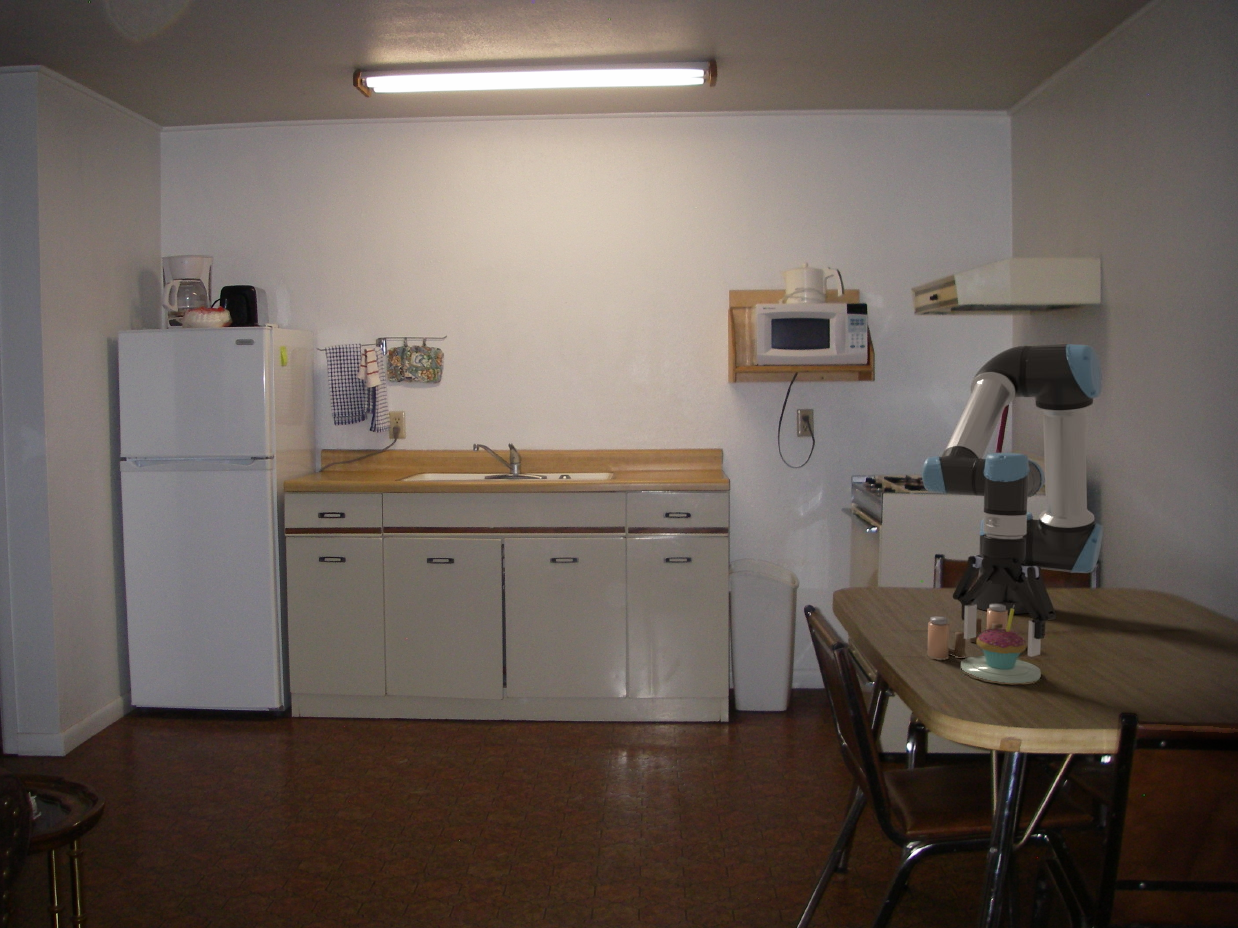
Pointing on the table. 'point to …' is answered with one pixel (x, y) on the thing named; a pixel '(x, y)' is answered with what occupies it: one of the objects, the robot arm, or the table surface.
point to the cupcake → (1001, 645)
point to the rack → (960, 639)
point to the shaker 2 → (996, 615)
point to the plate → (1001, 671)
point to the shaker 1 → (938, 637)
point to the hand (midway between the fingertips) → (1000, 646)
